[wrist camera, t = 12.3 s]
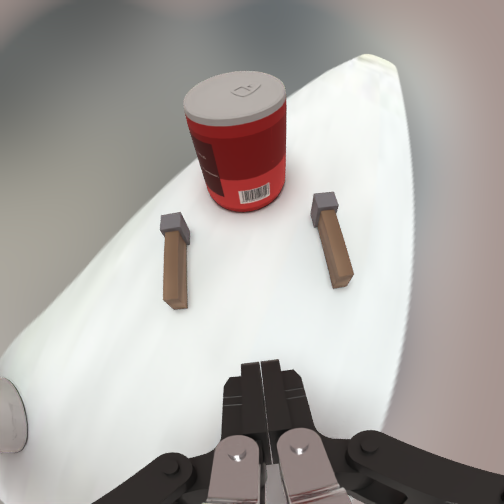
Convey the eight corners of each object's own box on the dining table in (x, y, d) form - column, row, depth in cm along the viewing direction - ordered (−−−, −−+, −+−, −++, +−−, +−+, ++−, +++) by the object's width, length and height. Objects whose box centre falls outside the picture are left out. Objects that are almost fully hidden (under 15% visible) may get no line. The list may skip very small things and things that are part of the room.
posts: (171, 247, 25) (159, 229, 23) (171, 233, 26) (160, 215, 23) (332, 225, 25) (338, 205, 22) (328, 212, 26) (333, 191, 23)
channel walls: (173, 309, 22) (163, 299, 20) (174, 246, 25) (165, 232, 23) (346, 286, 22) (353, 274, 20) (329, 225, 25) (334, 209, 23)
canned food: (298, 172, 28) (302, 80, 19) (258, 227, 26) (248, 130, 16) (237, 149, 31) (224, 65, 21) (193, 197, 28) (161, 109, 18)
